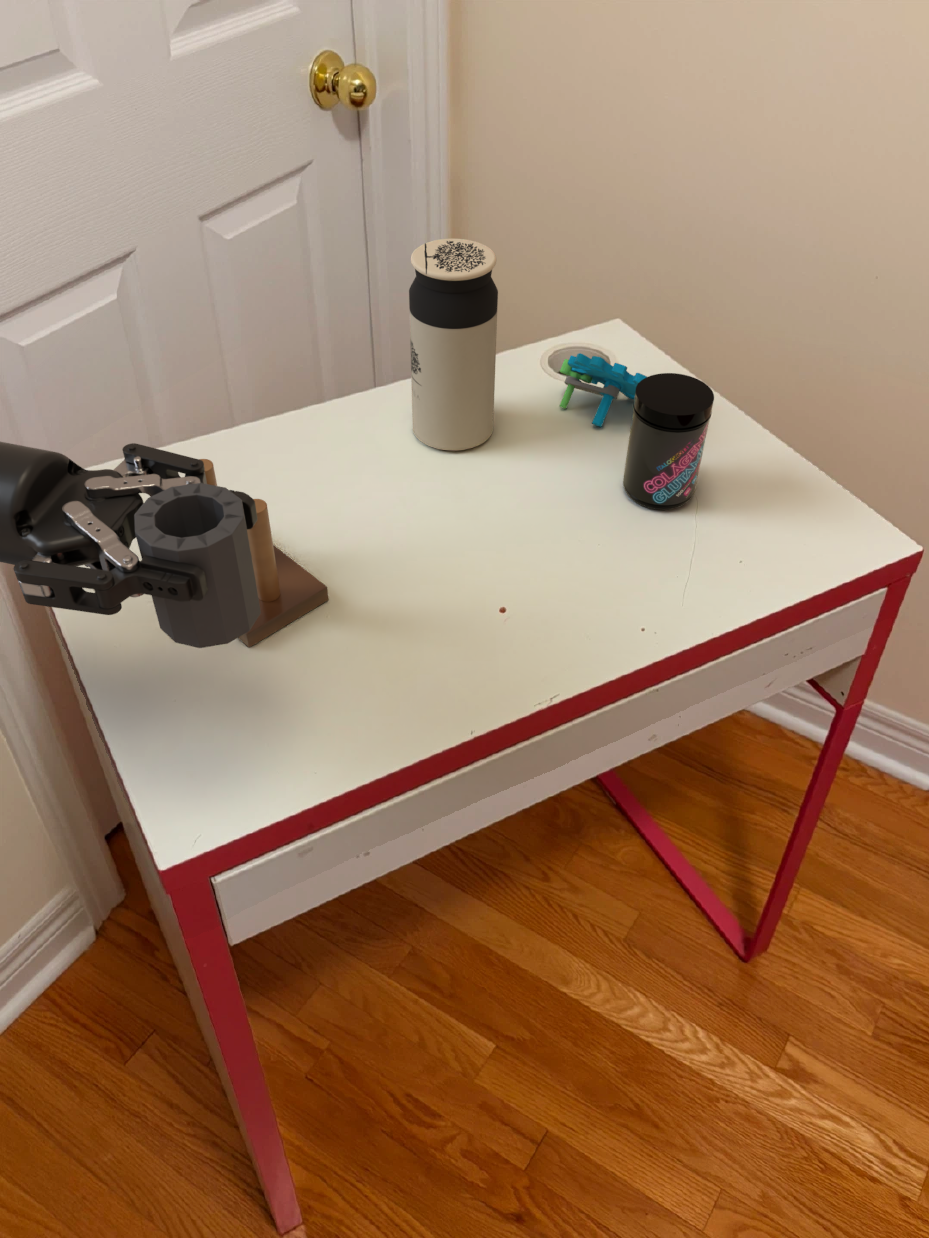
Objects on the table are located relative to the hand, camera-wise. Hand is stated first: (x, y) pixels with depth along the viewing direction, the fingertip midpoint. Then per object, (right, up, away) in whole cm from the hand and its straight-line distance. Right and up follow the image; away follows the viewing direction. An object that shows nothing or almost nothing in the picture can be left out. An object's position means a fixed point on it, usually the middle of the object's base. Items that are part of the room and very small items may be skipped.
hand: (229, 547), depth 64 cm
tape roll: (-2, -4, +5) cm, 6 cm away
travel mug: (+13, +14, +40) cm, 45 cm away
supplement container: (+32, +7, +34) cm, 47 cm away
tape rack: (-4, -2, +23) cm, 24 cm away
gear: (+29, +17, +43) cm, 55 cm away
